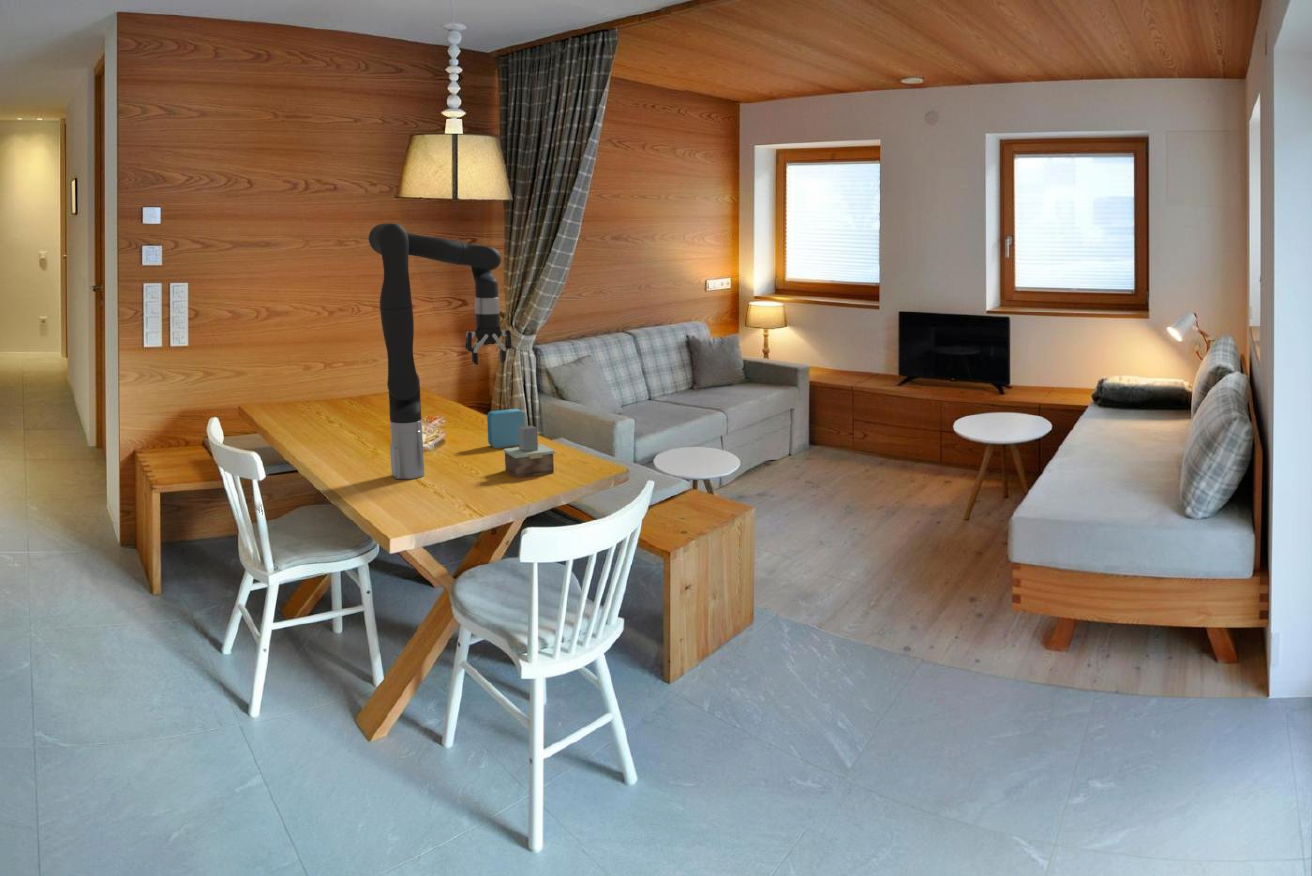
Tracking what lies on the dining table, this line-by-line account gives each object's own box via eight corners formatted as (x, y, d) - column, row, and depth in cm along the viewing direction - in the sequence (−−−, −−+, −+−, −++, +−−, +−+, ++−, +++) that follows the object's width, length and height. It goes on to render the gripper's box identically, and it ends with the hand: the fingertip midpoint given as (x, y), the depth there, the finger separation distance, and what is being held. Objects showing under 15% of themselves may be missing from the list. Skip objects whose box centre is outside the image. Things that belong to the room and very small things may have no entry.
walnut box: (516, 477, 316) (516, 458, 315) (505, 470, 325) (504, 451, 324) (553, 472, 322) (553, 453, 320) (541, 465, 330) (541, 447, 329)
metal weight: (524, 452, 319) (523, 429, 317) (519, 449, 323) (518, 426, 321) (537, 450, 321) (537, 427, 319) (532, 447, 325) (531, 425, 323)
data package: (521, 442, 363) (520, 408, 360) (526, 444, 359) (524, 410, 356) (488, 446, 357) (486, 411, 355) (492, 448, 353) (491, 413, 351)
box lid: (516, 460, 314) (516, 455, 313) (503, 453, 324) (503, 448, 323) (555, 455, 320) (555, 450, 319) (542, 448, 329) (542, 443, 329)
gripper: (468, 314, 319) (470, 366, 323) (513, 312, 325) (514, 363, 329) (461, 311, 326) (463, 363, 329) (505, 309, 332) (507, 360, 335)
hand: (489, 363), depth 329 cm, fingers open, 8 cm apart
